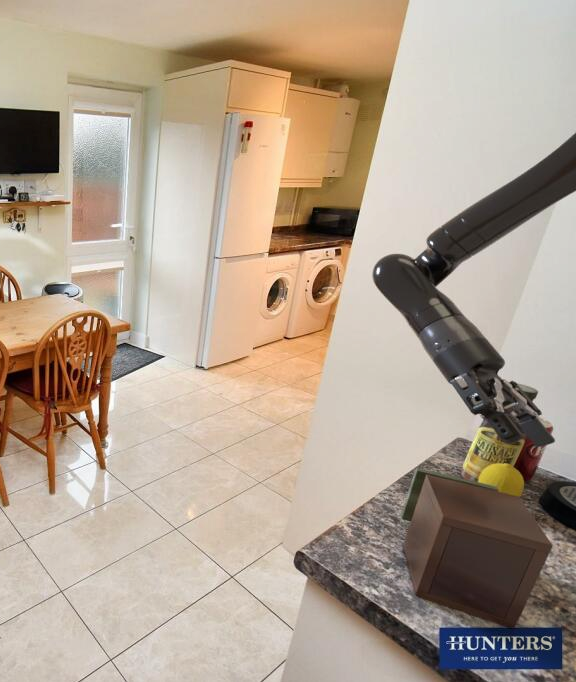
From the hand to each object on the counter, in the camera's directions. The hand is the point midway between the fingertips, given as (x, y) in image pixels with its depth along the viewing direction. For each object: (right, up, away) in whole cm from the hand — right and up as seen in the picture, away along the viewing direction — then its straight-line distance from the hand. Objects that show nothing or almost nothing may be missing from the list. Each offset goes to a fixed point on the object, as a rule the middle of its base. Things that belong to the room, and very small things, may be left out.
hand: (531, 443), depth 63 cm
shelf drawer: (-9, -16, +4) cm, 19 cm away
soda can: (+20, -12, +24) cm, 34 cm away
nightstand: (-12, -19, -1) cm, 23 cm away
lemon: (+9, -14, +15) cm, 23 cm away
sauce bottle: (+13, -12, +21) cm, 28 cm away
